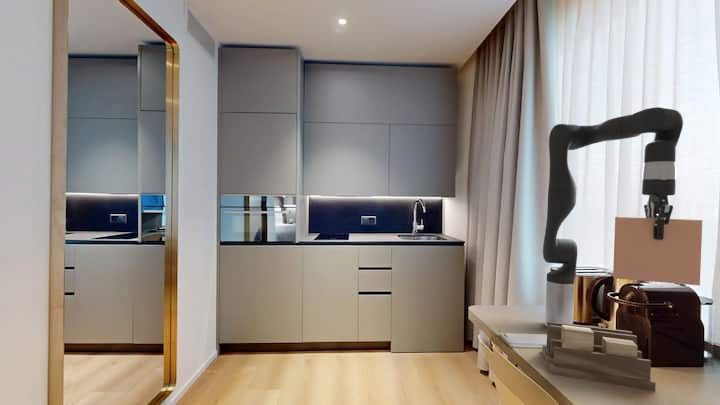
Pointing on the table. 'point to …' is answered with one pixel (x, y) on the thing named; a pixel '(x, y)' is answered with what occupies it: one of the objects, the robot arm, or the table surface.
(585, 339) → the offcut stack
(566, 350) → the walnut rack
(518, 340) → the baseboard molding
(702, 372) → the table surface
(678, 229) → the terracotta board
